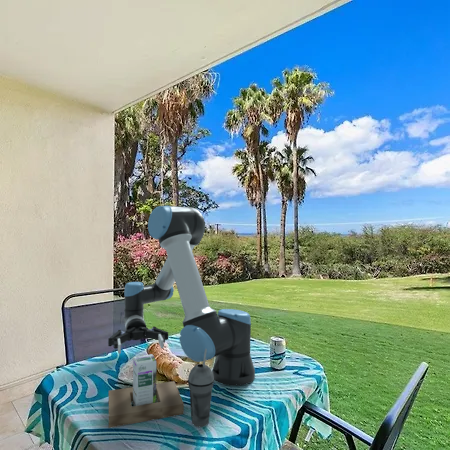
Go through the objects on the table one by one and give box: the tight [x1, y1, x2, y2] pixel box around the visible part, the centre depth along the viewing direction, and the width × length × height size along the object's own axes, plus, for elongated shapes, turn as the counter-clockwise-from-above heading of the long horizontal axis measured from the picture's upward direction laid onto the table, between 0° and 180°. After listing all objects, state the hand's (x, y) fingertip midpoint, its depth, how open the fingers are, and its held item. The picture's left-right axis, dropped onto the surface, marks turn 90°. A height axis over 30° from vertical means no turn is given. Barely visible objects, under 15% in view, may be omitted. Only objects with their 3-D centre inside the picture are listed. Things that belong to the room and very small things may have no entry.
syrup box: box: [132, 353, 157, 407], centre depth 97 cm, size 6×6×14 cm
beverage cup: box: [187, 349, 215, 428], centre depth 91 cm, size 7×7×20 cm
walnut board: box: [108, 380, 185, 429], centre depth 97 cm, size 20×14×3 cm
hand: (141, 346), depth 108 cm, fingers open, 13 cm apart
